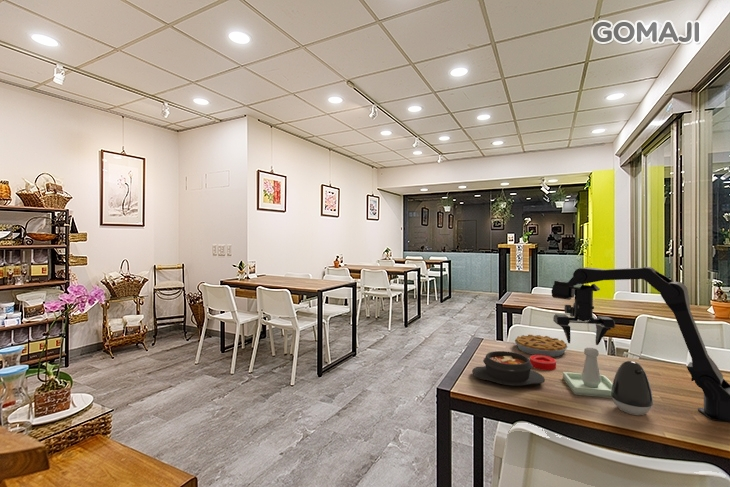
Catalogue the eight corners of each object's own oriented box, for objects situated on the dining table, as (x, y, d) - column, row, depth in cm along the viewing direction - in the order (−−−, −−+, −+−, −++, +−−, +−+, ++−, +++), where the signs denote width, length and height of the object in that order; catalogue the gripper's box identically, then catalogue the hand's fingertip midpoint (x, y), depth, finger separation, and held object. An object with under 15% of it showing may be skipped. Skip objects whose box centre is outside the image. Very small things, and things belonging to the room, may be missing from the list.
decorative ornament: (549, 362, 150) (550, 355, 150) (560, 371, 140) (560, 363, 140) (526, 361, 151) (526, 354, 151) (534, 370, 141) (534, 362, 141)
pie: (528, 340, 181) (528, 330, 181) (575, 351, 164) (575, 340, 164) (506, 349, 167) (506, 338, 167) (555, 362, 150) (555, 350, 150)
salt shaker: (603, 389, 121) (604, 351, 120) (584, 388, 122) (585, 350, 122) (596, 382, 127) (597, 346, 126) (578, 381, 128) (579, 345, 127)
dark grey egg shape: (621, 418, 104) (622, 366, 104) (604, 401, 114) (605, 354, 114) (661, 421, 102) (662, 368, 102) (640, 404, 112) (641, 356, 112)
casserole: (474, 387, 125) (474, 364, 125) (470, 368, 144) (470, 347, 143) (551, 393, 120) (551, 369, 120) (537, 372, 138) (537, 351, 138)
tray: (621, 398, 116) (621, 391, 116) (575, 394, 119) (575, 387, 119) (604, 381, 129) (604, 375, 129) (562, 378, 133) (562, 372, 133)
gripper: (603, 298, 136) (602, 339, 137) (549, 296, 141) (549, 336, 141) (616, 304, 125) (615, 348, 126) (558, 302, 130) (557, 344, 130)
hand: (582, 343), depth 131 cm, fingers open, 9 cm apart
